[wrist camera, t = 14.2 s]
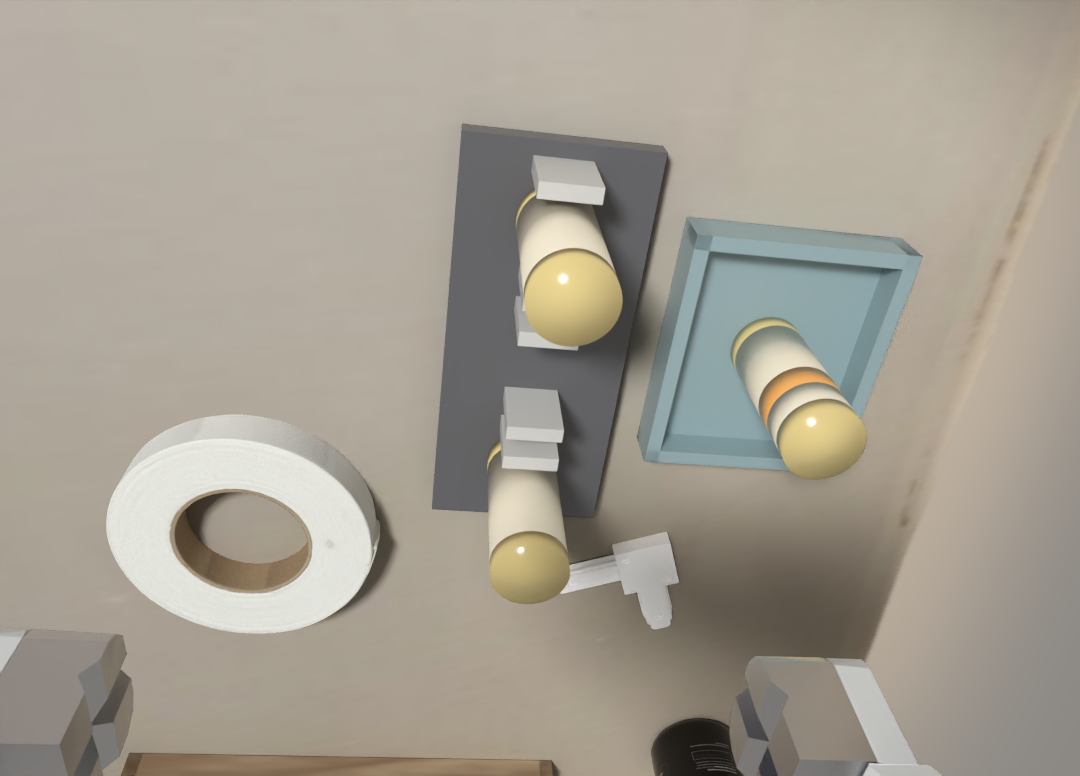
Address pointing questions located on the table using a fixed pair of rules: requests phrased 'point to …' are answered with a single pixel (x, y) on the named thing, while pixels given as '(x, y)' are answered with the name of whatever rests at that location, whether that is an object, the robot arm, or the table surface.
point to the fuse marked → (797, 400)
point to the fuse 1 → (566, 271)
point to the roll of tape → (254, 468)
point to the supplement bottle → (694, 750)
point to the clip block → (504, 330)
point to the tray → (753, 293)
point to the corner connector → (634, 574)
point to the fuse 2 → (525, 533)
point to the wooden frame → (324, 766)
